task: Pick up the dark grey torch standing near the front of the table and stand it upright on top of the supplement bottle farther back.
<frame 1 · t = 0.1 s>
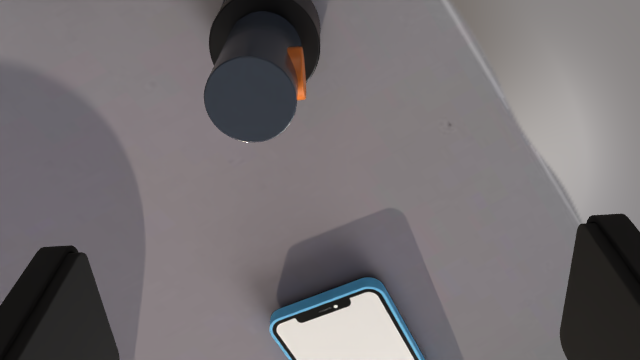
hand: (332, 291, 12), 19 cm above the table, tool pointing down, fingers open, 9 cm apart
torch: (269, 29, 28), on the table
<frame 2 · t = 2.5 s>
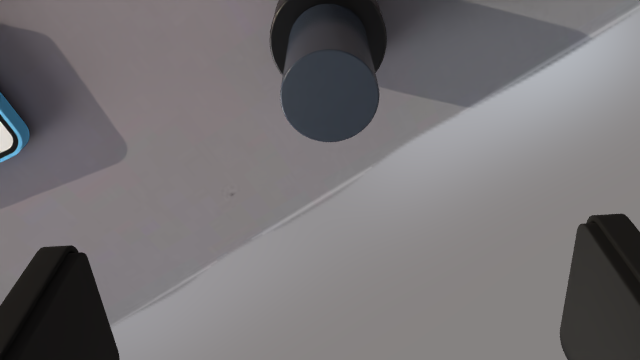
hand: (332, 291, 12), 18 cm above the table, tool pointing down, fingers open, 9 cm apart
torch: (327, 23, 27), on the table
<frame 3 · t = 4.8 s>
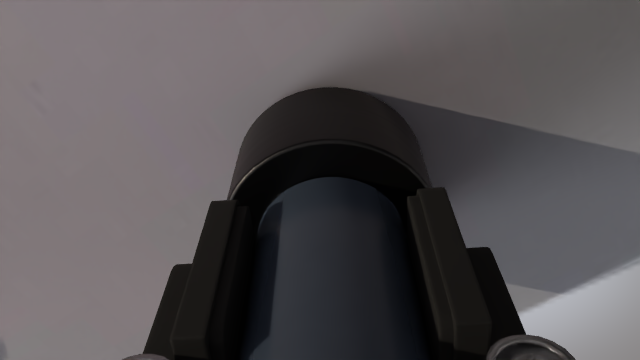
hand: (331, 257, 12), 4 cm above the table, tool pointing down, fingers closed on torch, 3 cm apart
torch: (329, 172, 16), on the table, touching gripper
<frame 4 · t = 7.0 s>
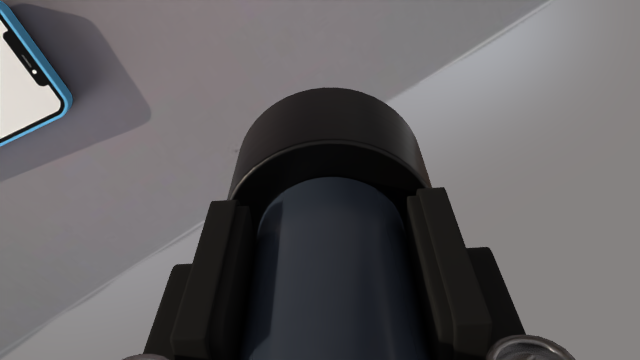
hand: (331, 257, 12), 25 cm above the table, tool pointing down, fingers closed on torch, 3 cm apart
torch: (329, 172, 16), point 21 cm above the table, touching gripper
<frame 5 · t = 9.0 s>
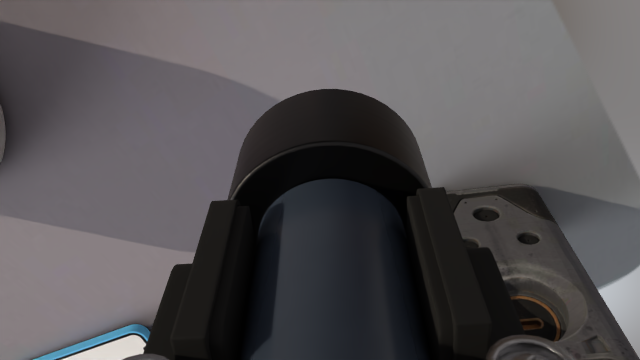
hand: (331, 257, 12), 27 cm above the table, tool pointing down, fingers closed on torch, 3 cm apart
torch: (329, 174, 16), point 24 cm above the table, touching gripper
electronic device: (473, 218, 45), on the table
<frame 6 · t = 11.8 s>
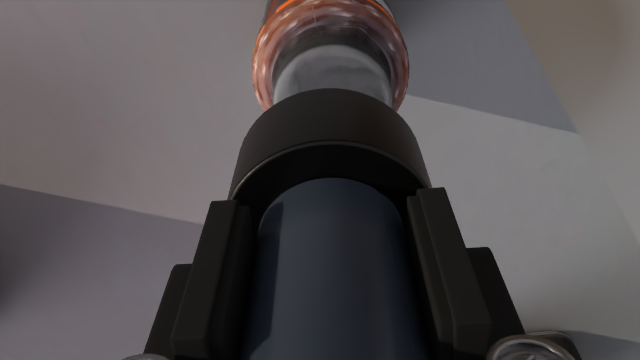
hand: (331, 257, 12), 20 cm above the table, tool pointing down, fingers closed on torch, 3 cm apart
torch: (329, 173, 16), point 16 cm above the table, touching gripper
supplement bottle: (327, 16, 30), on the table
when the fingers open (15 cm above the table, at t = 13.4 s): torch stays where it is, resting on supplement bottle.
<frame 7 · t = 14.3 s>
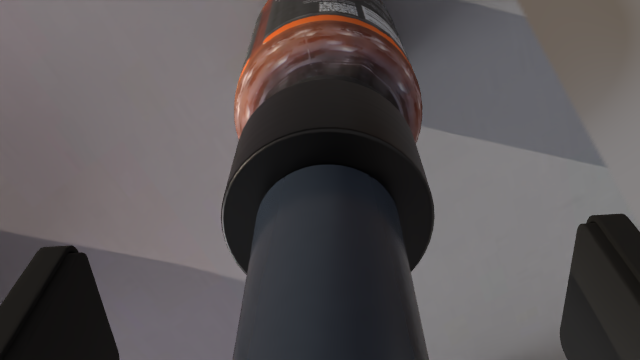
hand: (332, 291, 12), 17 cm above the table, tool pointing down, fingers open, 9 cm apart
torch: (326, 163, 16), point 11 cm above the table, touching supplement bottle
supplement bottle: (324, 38, 26), on the table, touching torch
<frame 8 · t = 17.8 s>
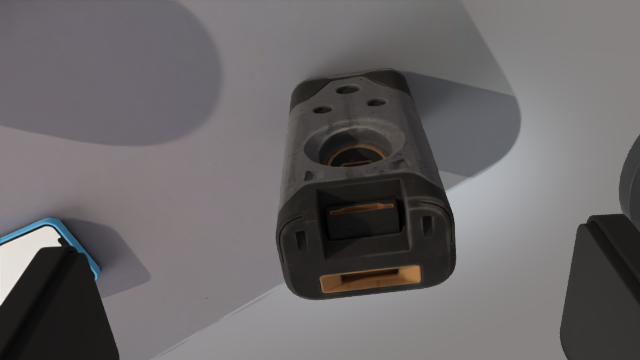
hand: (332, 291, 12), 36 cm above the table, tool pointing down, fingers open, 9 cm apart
electronic device: (350, 105, 49), on the table
smartphone: (18, 268, 57), on the table
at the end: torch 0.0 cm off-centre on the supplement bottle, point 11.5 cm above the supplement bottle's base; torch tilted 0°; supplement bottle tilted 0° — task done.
